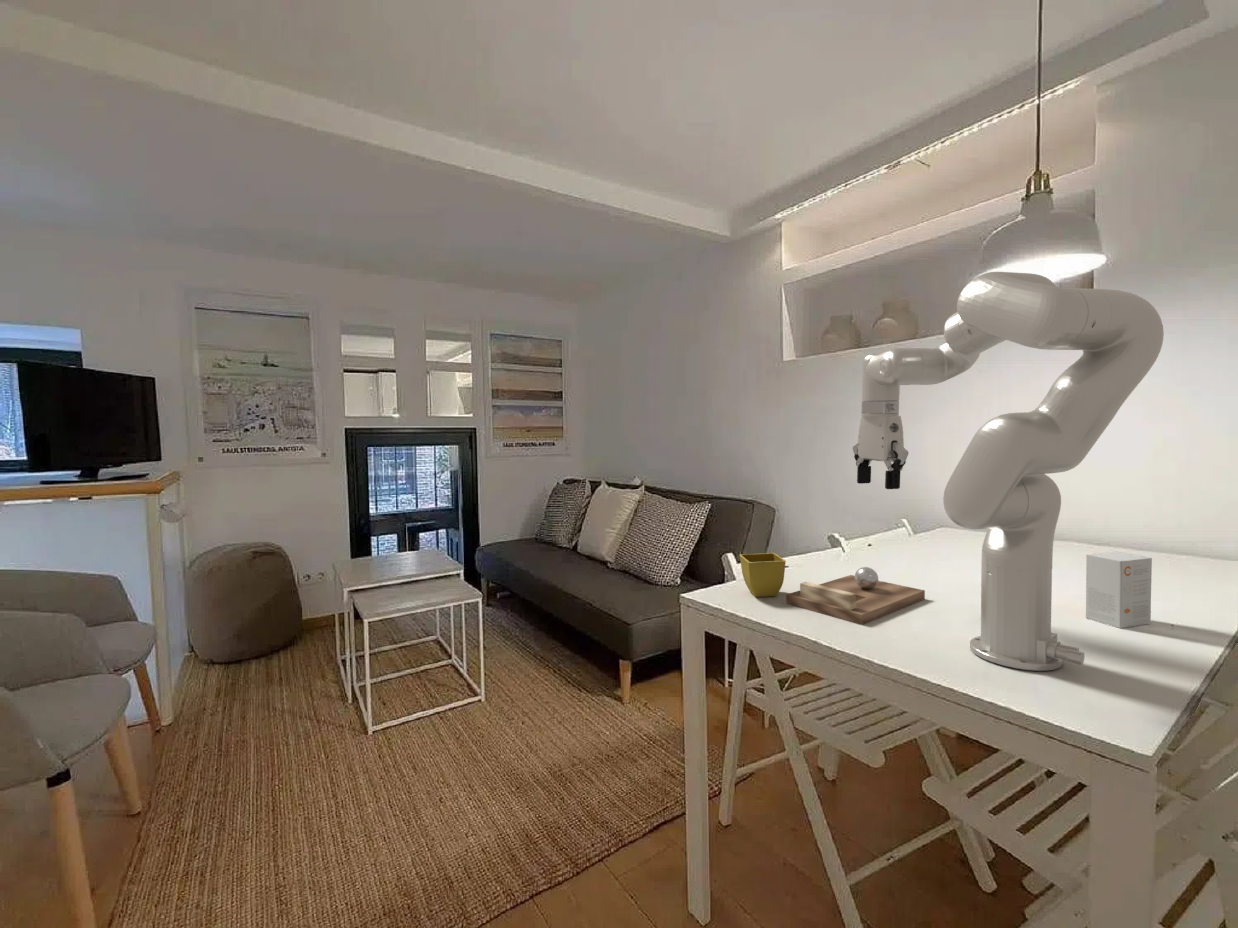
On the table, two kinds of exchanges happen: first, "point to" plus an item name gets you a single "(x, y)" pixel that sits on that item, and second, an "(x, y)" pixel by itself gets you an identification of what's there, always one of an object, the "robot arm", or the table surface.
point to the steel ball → (866, 578)
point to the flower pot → (763, 573)
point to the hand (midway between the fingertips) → (877, 485)
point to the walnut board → (863, 600)
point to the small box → (1118, 589)
